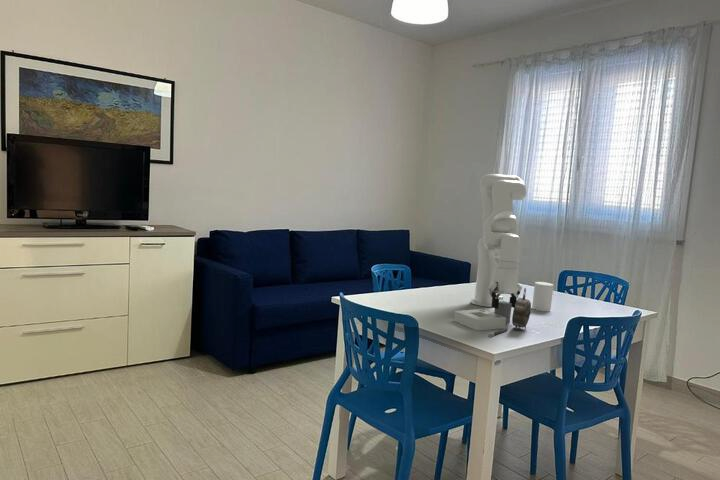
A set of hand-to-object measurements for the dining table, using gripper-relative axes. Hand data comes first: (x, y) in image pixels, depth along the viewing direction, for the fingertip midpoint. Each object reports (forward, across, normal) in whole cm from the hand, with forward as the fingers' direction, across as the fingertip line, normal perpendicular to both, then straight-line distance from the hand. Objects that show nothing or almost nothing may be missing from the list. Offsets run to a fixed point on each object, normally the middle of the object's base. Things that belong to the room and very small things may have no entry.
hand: (503, 307), depth 210 cm
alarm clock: (+6, 0, +10) cm, 12 cm away
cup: (+5, -38, -14) cm, 41 cm away
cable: (+6, +14, +12) cm, 19 cm away
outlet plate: (+6, +12, 0) cm, 14 cm away
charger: (+6, 0, -1) cm, 6 cm away
